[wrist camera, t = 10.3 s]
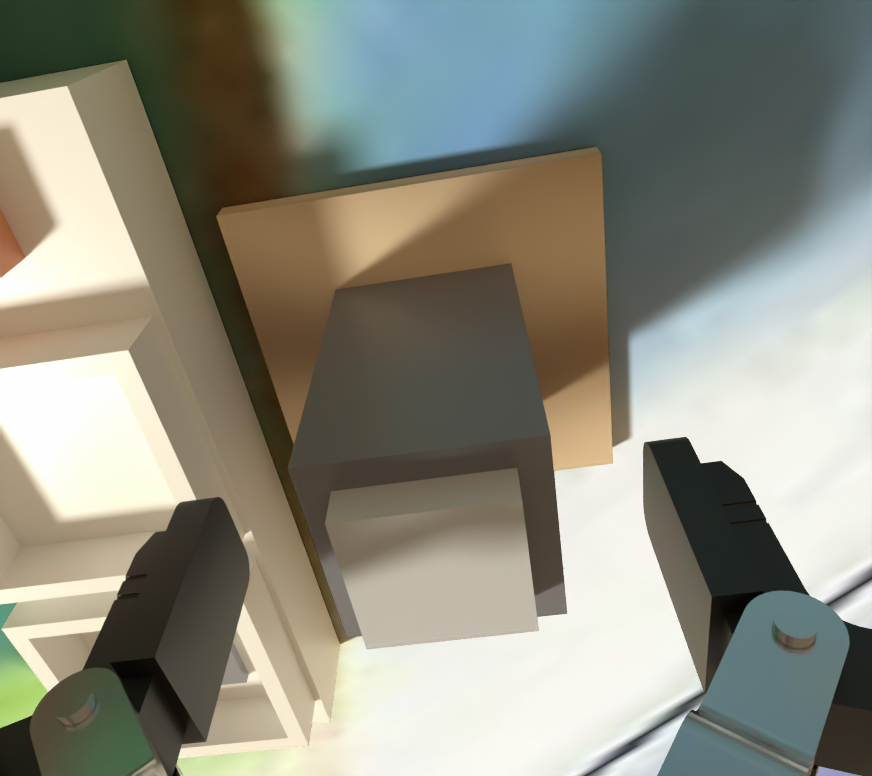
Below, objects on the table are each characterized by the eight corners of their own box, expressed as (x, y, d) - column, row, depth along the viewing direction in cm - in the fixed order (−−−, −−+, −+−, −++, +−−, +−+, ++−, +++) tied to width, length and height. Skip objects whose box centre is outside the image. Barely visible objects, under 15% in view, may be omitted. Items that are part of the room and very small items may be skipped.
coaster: (222, 207, 17) (216, 216, 17) (596, 146, 17) (601, 153, 16) (315, 488, 22) (313, 501, 22) (608, 450, 21) (612, 463, 21)
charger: (335, 289, 18) (279, 501, 11) (511, 263, 18) (557, 465, 11) (372, 430, 20) (342, 672, 14) (527, 409, 20) (573, 648, 13)
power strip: (-295, -98, 14) (-565, -106, 10) (42, -170, 13) (-111, -207, 10) (158, 664, 27) (112, 786, 23) (340, 645, 26) (324, 766, 23)
